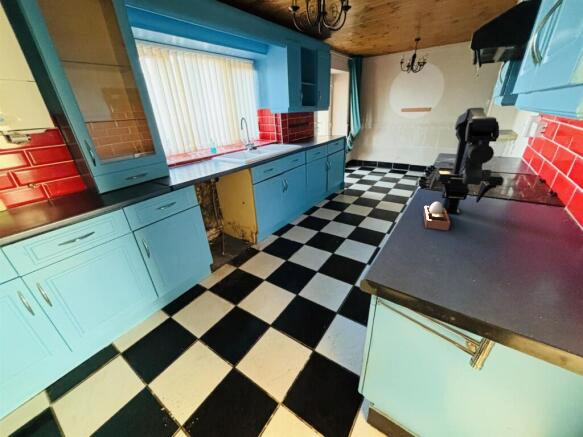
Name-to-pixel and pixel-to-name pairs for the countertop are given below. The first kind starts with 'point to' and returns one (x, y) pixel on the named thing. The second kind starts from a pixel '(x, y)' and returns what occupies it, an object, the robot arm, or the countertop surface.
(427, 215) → the tray
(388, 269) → the countertop surface
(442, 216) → the walnut block
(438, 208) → the egg
